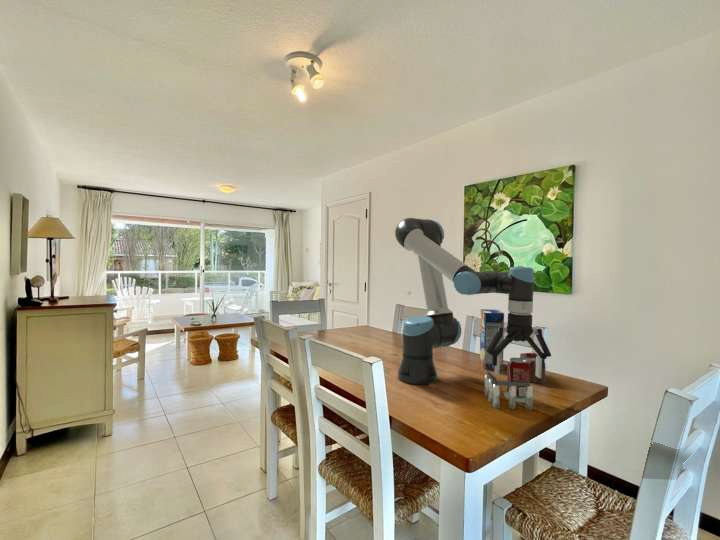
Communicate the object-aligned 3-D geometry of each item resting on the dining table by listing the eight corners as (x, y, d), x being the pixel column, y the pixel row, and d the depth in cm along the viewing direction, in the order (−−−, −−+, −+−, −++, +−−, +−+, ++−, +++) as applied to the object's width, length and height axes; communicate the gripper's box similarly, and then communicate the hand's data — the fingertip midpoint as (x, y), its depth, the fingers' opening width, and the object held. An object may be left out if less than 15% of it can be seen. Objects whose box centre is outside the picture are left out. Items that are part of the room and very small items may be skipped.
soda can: (532, 399, 116) (533, 362, 116) (512, 398, 116) (512, 362, 116) (523, 391, 123) (524, 357, 123) (504, 391, 123) (504, 356, 123)
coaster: (509, 402, 115) (509, 400, 115) (500, 392, 124) (500, 390, 124) (537, 403, 115) (538, 401, 115) (526, 393, 124) (526, 390, 124)
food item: (517, 371, 149) (517, 348, 149) (537, 372, 147) (538, 349, 147) (526, 382, 135) (527, 356, 135) (549, 383, 134) (549, 357, 134)
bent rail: (493, 408, 111) (494, 381, 111) (483, 394, 122) (484, 371, 122) (533, 409, 110) (533, 383, 110) (519, 396, 121) (520, 372, 121)
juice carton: (479, 361, 163) (480, 309, 162) (496, 362, 162) (497, 309, 161) (484, 369, 151) (485, 312, 151) (503, 370, 150) (504, 313, 149)
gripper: (485, 313, 116) (482, 378, 117) (564, 316, 114) (561, 381, 115) (478, 310, 123) (476, 370, 124) (553, 312, 122) (550, 373, 123)
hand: (517, 376), depth 120 cm, fingers open, 13 cm apart
